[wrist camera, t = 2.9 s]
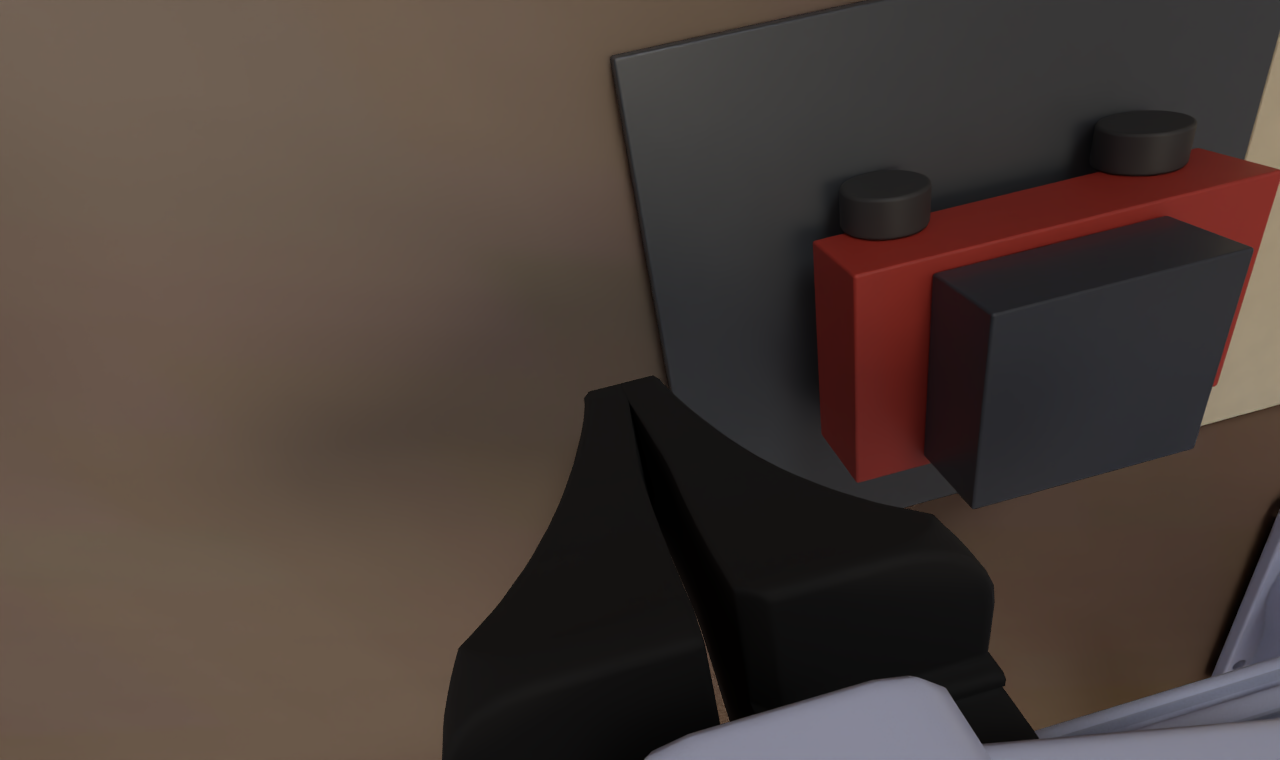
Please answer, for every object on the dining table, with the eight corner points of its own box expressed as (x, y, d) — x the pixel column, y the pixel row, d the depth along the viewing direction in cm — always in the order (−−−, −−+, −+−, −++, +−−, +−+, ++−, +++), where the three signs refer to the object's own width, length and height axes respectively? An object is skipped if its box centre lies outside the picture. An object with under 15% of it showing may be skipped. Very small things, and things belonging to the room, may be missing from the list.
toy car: (1120, 361, 18) (1284, 465, 14) (809, 444, 17) (898, 573, 13) (1177, 97, 14) (1411, 144, 11) (794, 188, 14) (907, 269, 10)
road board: (1510, 330, 20) (1527, 337, 20) (698, 552, 19) (702, 564, 18) (1799, -203, 14) (1830, -206, 14) (610, 55, 12) (612, 58, 12)
